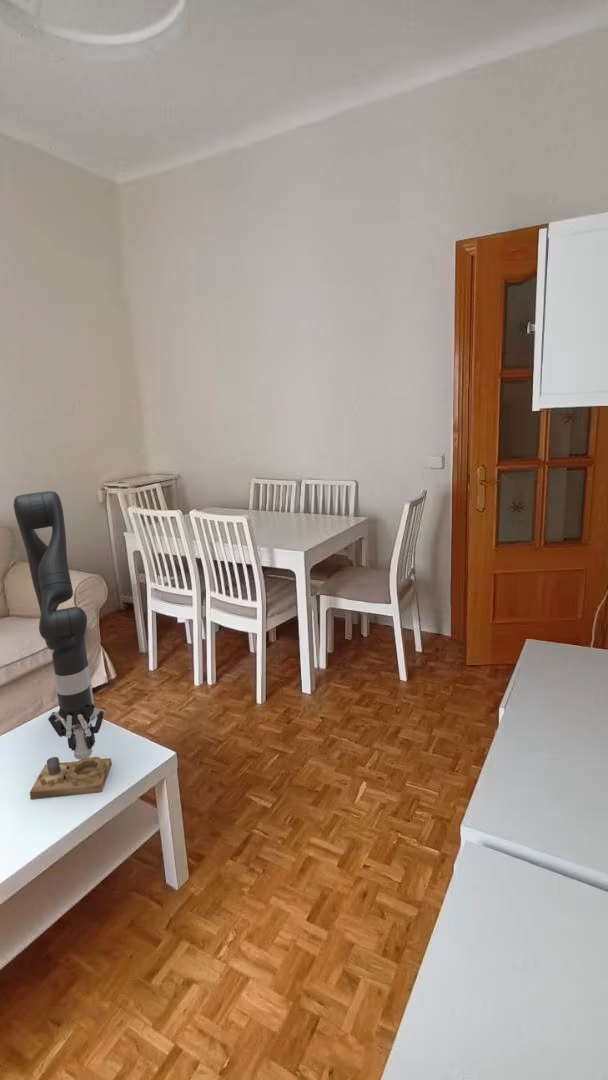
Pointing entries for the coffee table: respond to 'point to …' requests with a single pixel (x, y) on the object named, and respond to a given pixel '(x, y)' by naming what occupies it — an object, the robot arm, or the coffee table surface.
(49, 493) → the robot arm
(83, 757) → the rook chess piece
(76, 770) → the gear board
